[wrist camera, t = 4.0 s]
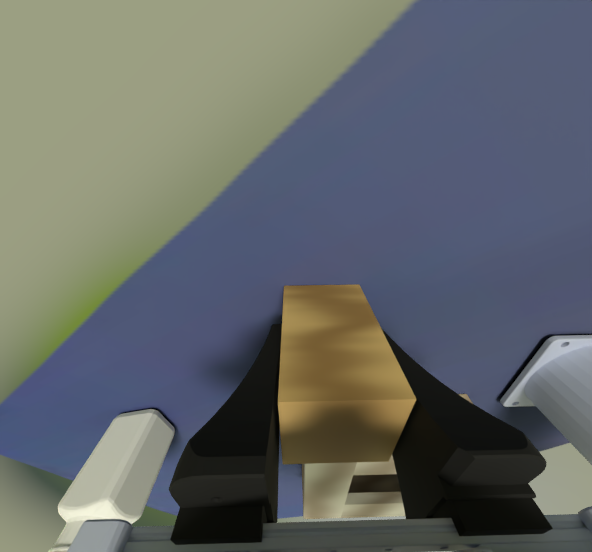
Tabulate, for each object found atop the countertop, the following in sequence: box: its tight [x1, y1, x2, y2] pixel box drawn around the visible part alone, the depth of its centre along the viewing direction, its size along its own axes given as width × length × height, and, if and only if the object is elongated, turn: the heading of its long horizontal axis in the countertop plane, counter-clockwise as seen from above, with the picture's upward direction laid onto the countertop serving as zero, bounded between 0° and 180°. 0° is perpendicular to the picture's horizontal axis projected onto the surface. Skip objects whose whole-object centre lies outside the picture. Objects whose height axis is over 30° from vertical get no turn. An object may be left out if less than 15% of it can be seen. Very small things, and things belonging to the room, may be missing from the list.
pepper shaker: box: [48, 409, 175, 552], centre depth 16 cm, size 4×4×10 cm
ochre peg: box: [278, 285, 416, 464], centre depth 11 cm, size 4×4×7 cm
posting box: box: [302, 394, 473, 519], centre depth 21 cm, size 14×14×4 cm
